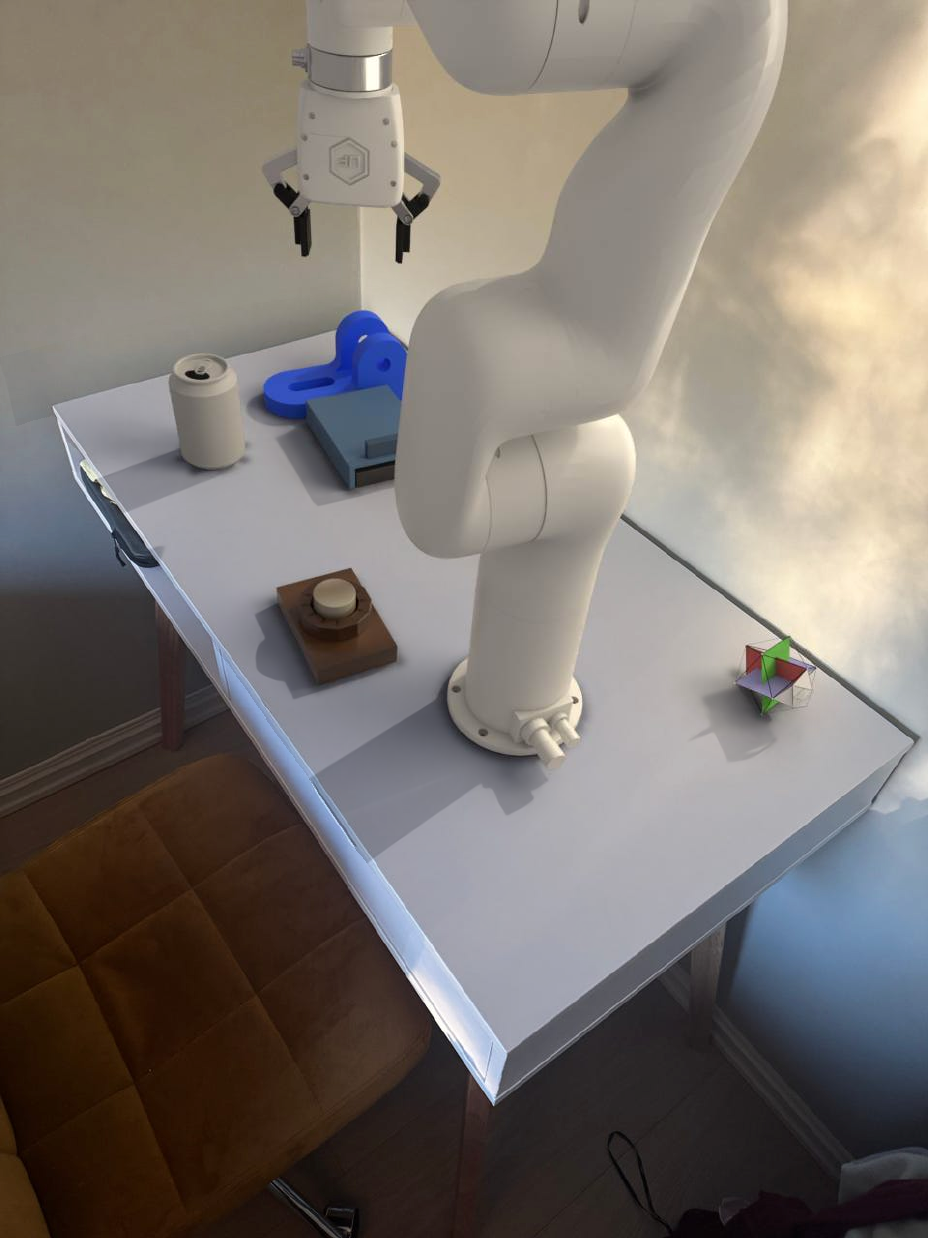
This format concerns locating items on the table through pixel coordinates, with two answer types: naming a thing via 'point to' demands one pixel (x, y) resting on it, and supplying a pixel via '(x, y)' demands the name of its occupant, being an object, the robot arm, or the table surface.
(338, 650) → the brown wooden stand
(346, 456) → the cover
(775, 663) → the geometric puzzle
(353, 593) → the bell button
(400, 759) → the table surface
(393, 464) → the calculator
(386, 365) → the bracket
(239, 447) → the can
